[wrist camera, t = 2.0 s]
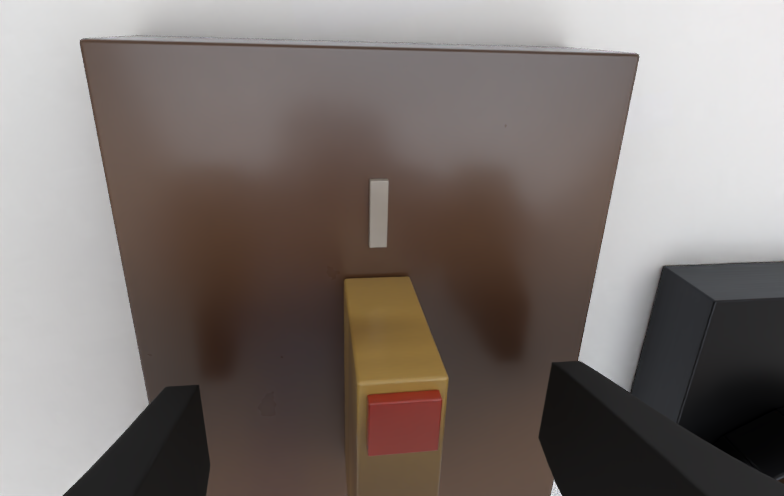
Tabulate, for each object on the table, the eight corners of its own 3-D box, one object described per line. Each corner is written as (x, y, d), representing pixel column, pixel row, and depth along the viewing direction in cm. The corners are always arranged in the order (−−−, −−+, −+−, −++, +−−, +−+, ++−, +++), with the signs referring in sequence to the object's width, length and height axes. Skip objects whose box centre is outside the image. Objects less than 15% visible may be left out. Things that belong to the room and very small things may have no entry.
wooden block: (401, 455, 13) (433, 609, 10) (345, 460, 13) (356, 619, 9) (409, 275, 11) (454, 387, 8) (343, 277, 11) (358, 394, 7)
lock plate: (504, 477, 18) (541, 563, 15) (206, 506, 17) (184, 606, 14) (570, 47, 13) (646, 53, 10) (133, 35, 11) (72, 38, 8)
